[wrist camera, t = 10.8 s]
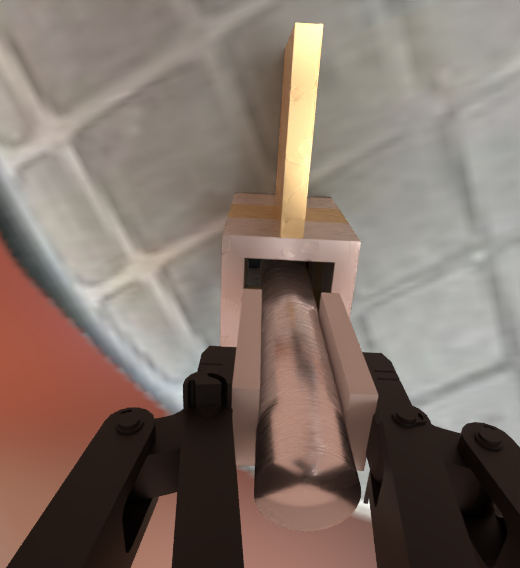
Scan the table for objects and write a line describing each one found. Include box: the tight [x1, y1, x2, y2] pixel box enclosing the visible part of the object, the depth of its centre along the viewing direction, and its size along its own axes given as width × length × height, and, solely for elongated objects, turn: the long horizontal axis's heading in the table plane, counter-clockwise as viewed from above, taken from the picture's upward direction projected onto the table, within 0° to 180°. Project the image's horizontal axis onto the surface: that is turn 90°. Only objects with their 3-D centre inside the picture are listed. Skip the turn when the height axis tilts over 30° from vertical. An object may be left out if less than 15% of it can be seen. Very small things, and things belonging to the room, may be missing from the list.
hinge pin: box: [254, 259, 361, 531], centre depth 17 cm, size 2×2×16 cm
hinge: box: [220, 23, 361, 347], centre depth 24 cm, size 22×6×9 cm, turn 177°
